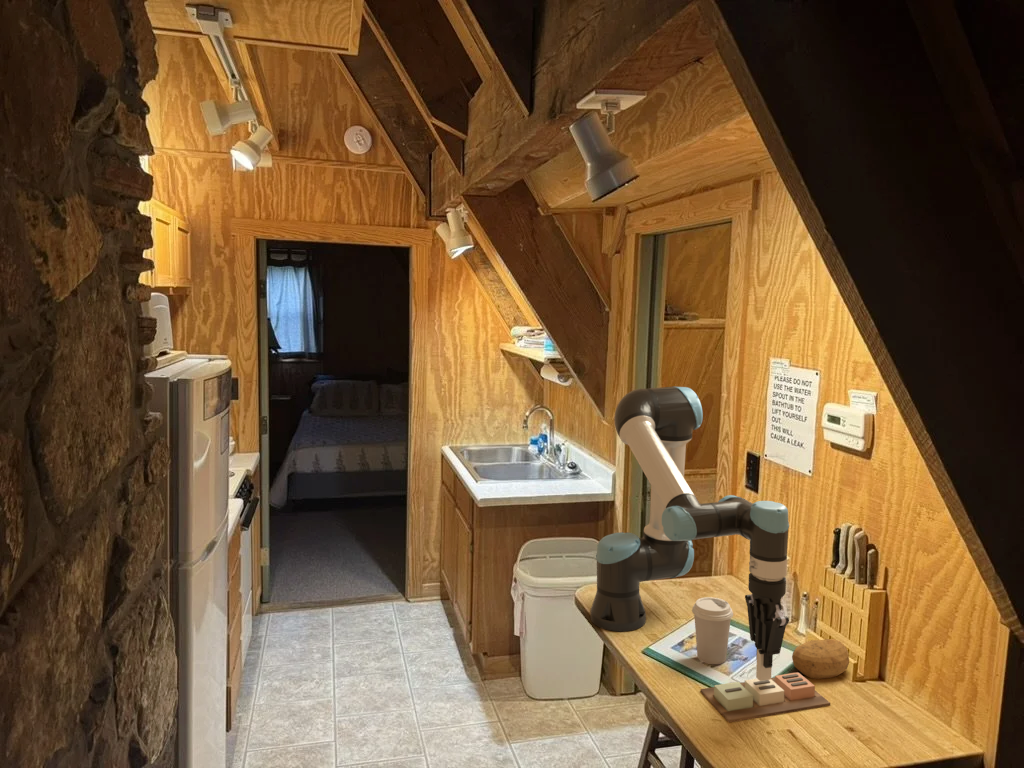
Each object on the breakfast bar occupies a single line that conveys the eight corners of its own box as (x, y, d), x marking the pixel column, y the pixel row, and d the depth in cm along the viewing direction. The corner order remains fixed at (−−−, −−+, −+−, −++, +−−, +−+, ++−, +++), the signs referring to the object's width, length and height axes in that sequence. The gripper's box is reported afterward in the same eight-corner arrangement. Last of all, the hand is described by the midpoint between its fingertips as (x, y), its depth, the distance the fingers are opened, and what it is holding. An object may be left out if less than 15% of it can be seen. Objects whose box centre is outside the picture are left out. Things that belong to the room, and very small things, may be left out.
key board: (700, 697, 158) (700, 689, 157) (795, 682, 163) (795, 674, 163) (728, 729, 146) (728, 720, 146) (830, 711, 152) (830, 702, 151)
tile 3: (774, 692, 158) (775, 674, 158) (797, 688, 160) (798, 670, 159) (790, 707, 153) (791, 688, 152) (814, 703, 154) (814, 684, 154)
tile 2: (744, 697, 157) (745, 679, 156) (768, 693, 158) (768, 675, 158) (759, 712, 151) (760, 693, 151) (783, 708, 152) (784, 689, 152)
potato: (779, 671, 168) (780, 639, 167) (828, 661, 172) (829, 629, 171) (808, 692, 159) (809, 658, 158) (859, 681, 163) (860, 648, 162)
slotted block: (713, 702, 155) (714, 684, 154) (737, 698, 156) (738, 680, 156) (727, 717, 149) (728, 698, 149) (752, 713, 151) (753, 694, 150)
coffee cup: (734, 674, 167) (735, 614, 165) (692, 671, 169) (693, 611, 167) (730, 654, 176) (731, 597, 174) (690, 651, 178) (691, 594, 176)
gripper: (735, 565, 157) (732, 665, 160) (769, 589, 144) (765, 697, 147) (765, 561, 158) (761, 661, 161) (802, 585, 146) (797, 692, 149)
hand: (763, 678), depth 154 cm, fingers closed
